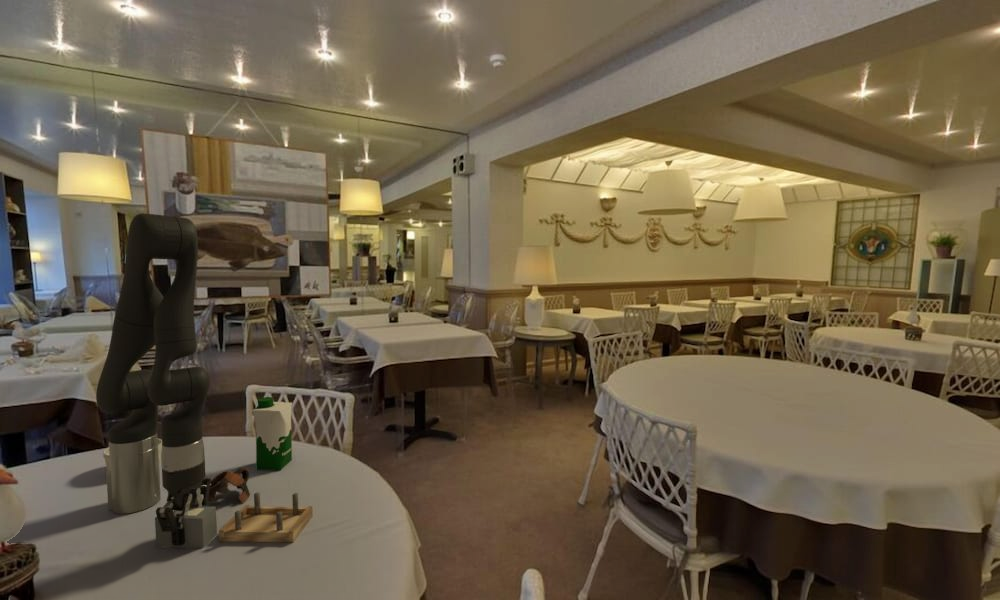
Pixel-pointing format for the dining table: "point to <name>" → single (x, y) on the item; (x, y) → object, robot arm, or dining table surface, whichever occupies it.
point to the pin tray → (266, 523)
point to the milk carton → (273, 434)
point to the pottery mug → (234, 480)
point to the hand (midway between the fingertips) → (187, 536)
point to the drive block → (191, 528)
